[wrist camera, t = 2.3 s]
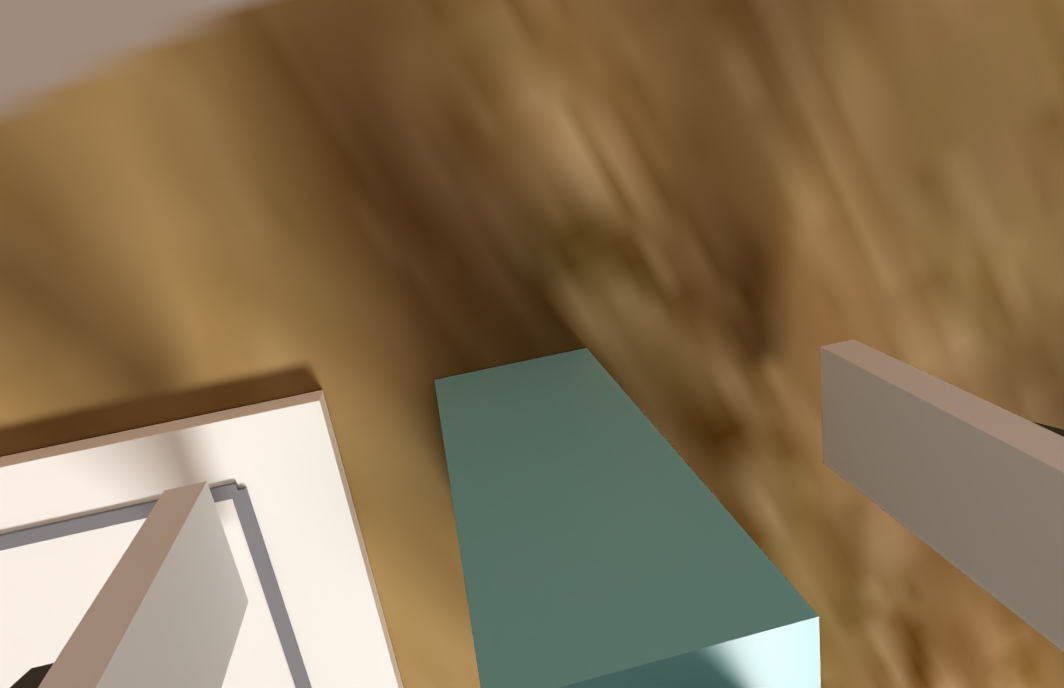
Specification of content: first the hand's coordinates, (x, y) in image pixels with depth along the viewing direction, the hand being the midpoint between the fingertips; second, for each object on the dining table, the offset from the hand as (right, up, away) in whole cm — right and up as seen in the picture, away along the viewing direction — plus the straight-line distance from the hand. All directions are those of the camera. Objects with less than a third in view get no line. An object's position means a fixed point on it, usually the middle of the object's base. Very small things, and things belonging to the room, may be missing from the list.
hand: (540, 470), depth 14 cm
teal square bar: (0, 0, +2) cm, 2 cm away
